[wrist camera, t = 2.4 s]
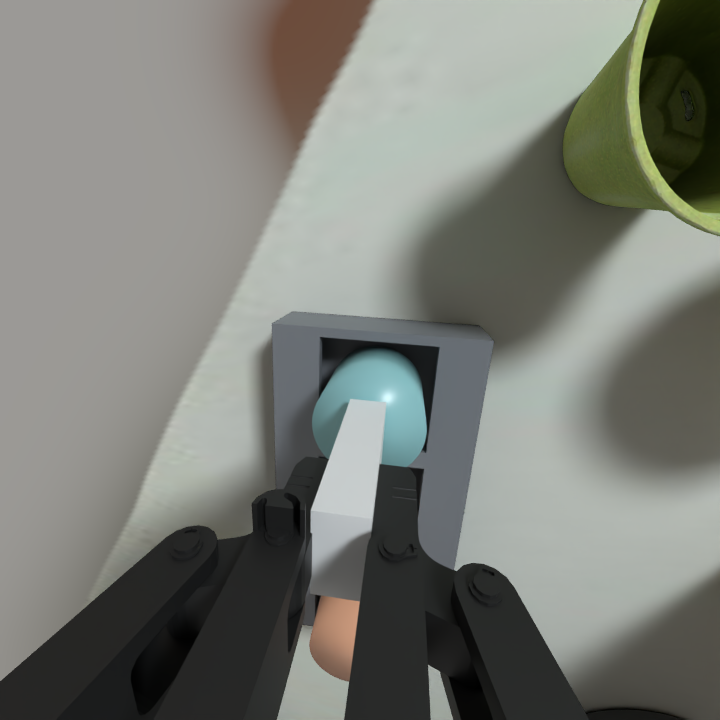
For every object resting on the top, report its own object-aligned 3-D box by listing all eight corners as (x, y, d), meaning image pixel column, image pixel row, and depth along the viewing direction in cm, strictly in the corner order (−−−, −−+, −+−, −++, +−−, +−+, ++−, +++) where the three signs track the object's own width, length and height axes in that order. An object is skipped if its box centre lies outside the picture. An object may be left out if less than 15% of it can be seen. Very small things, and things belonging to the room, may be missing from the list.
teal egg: (417, 434, 20) (420, 483, 16) (330, 425, 21) (311, 470, 16) (427, 350, 19) (433, 379, 14) (332, 342, 19) (312, 369, 15)
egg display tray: (436, 598, 27) (440, 647, 24) (294, 576, 28) (279, 620, 25) (479, 325, 20) (494, 341, 17) (292, 311, 21) (271, 323, 18)
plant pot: (769, 176, 17) (1119, 110, 8) (565, 276, 19) (685, 298, 11) (713, -40, 15) (1098, -398, 7) (494, 100, 17) (575, -33, 9)
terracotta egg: (396, 614, 25) (394, 689, 20) (325, 603, 25) (309, 674, 21) (403, 558, 23) (402, 627, 19) (326, 547, 23) (309, 612, 19)
